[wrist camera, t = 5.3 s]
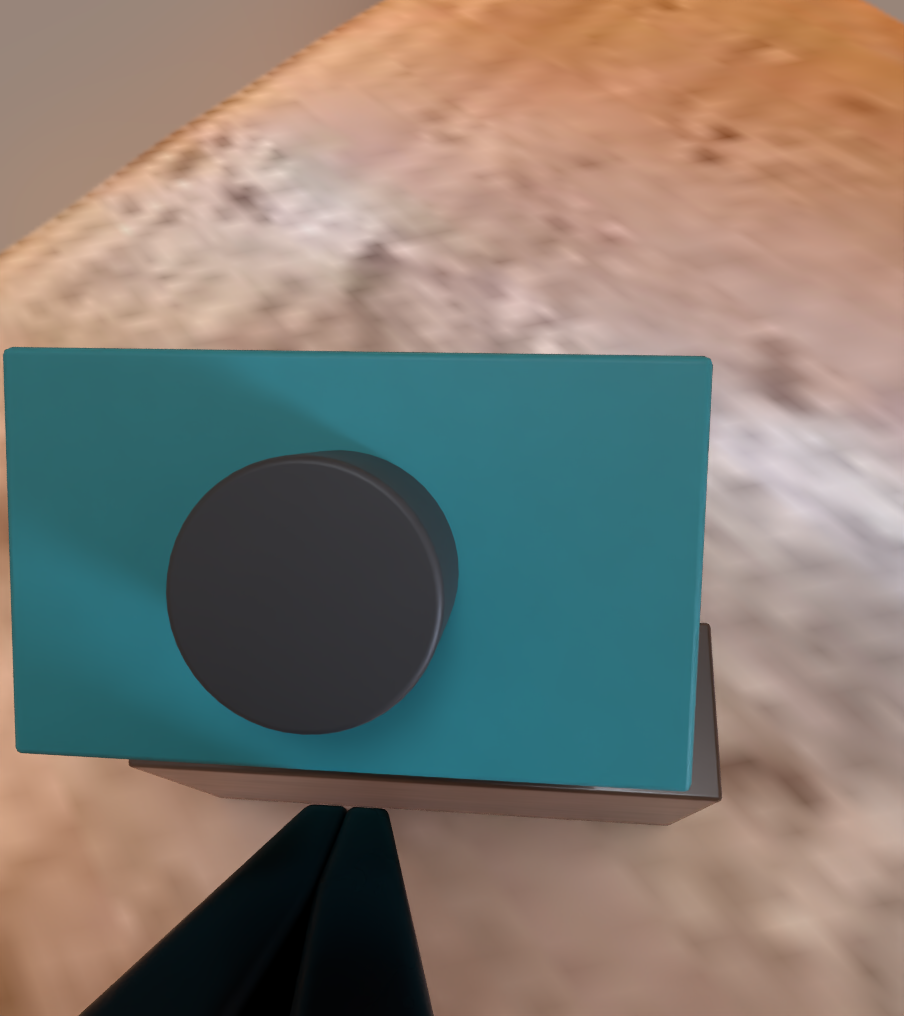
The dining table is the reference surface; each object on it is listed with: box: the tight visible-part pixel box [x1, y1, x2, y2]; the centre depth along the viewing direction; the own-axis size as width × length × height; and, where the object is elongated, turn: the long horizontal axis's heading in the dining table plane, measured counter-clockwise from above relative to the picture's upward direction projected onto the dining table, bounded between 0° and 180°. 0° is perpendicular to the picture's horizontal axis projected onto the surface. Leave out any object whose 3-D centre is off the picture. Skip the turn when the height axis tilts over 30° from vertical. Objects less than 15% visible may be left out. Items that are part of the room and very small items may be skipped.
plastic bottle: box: [3, 347, 713, 792], centre depth 14 cm, size 10×7×14 cm, turn 176°
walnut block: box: [129, 623, 722, 825], centre depth 17 cm, size 3×10×5 cm, turn 86°
